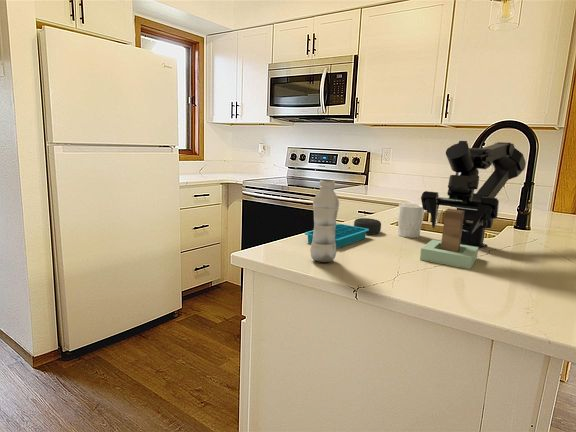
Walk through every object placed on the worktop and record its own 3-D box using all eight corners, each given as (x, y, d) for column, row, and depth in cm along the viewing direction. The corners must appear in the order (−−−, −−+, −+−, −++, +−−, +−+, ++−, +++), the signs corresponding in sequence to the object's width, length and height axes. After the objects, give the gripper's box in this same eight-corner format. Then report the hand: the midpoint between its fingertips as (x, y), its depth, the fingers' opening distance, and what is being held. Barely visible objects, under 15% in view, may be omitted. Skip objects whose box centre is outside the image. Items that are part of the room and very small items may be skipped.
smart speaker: (370, 228, 138) (371, 217, 137) (385, 234, 130) (386, 222, 129) (348, 229, 134) (349, 218, 133) (363, 235, 126) (364, 223, 125)
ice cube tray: (302, 243, 115) (302, 233, 114) (338, 232, 131) (338, 223, 130) (336, 251, 108) (336, 240, 107) (370, 238, 124) (370, 229, 123)
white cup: (422, 239, 124) (426, 208, 122) (396, 237, 125) (399, 206, 124) (419, 233, 132) (422, 204, 130) (395, 231, 133) (398, 202, 131)
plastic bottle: (338, 259, 99) (343, 180, 96) (332, 266, 93) (337, 182, 89) (313, 255, 101) (317, 178, 98) (306, 263, 95) (310, 180, 91)
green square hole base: (430, 249, 112) (432, 239, 111) (477, 258, 105) (478, 247, 105) (419, 259, 102) (421, 248, 101) (470, 269, 95) (471, 257, 95)
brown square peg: (442, 255, 106) (448, 208, 104) (458, 258, 104) (464, 210, 102) (439, 259, 103) (445, 210, 100) (455, 262, 101) (462, 212, 98)
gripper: (426, 161, 107) (411, 206, 100) (503, 166, 97) (492, 216, 90) (430, 187, 115) (416, 231, 108) (502, 194, 105) (491, 242, 98)
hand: (451, 229), depth 101 cm, fingers open, 9 cm apart
